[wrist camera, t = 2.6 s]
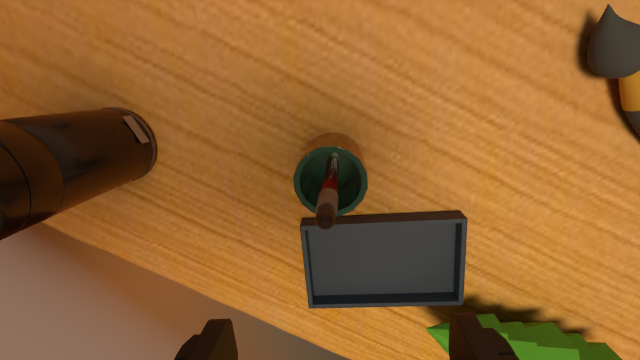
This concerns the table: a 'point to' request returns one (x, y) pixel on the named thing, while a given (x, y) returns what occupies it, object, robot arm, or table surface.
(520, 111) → the table surface
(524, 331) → the decorative tree
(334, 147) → the cup
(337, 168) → the brush
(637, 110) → the paintbrush
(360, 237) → the tray
